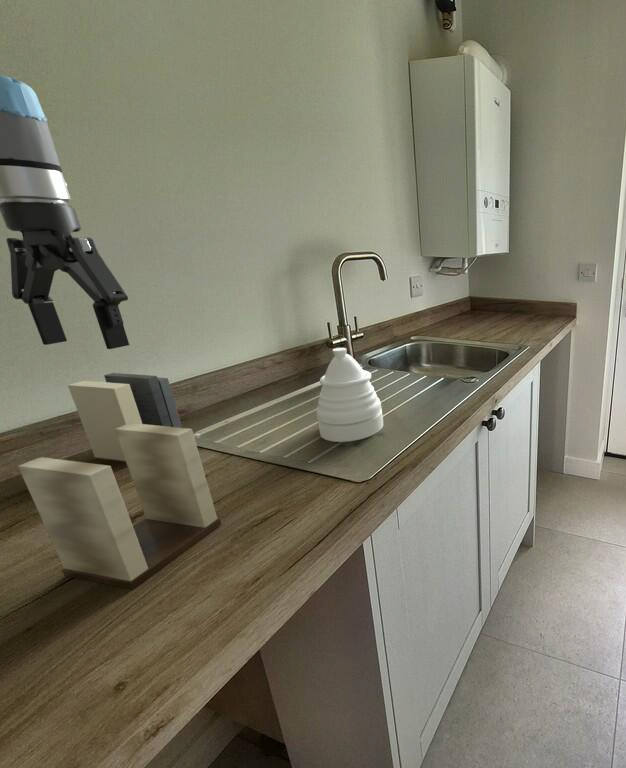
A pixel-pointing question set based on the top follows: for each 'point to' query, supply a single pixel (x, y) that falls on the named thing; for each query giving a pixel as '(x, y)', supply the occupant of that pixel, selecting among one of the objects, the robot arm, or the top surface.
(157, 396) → the grey book stand
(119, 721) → the top surface
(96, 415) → the cream book
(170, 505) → the cream book stand
